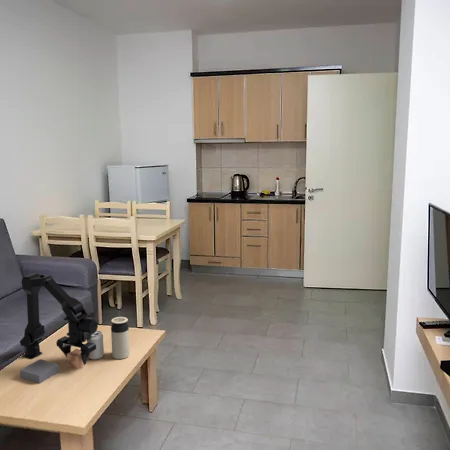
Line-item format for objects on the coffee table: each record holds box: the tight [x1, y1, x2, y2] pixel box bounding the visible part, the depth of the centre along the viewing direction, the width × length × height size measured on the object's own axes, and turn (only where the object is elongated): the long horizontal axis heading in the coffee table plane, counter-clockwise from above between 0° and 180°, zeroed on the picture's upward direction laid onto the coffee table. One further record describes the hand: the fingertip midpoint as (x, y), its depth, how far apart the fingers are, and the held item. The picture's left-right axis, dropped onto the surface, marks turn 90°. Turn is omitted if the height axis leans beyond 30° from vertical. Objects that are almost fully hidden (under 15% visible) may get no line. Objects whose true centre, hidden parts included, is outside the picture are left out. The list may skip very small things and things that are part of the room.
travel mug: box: [110, 316, 130, 360], centre depth 216 cm, size 8×8×18 cm
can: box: [86, 329, 105, 360], centre depth 216 cm, size 8×8×12 cm
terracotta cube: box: [66, 348, 88, 370], centre depth 208 cm, size 6×6×6 cm
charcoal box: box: [19, 358, 60, 385], centre depth 199 cm, size 11×11×4 cm
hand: (77, 362), depth 208 cm, fingers open, 9 cm apart
